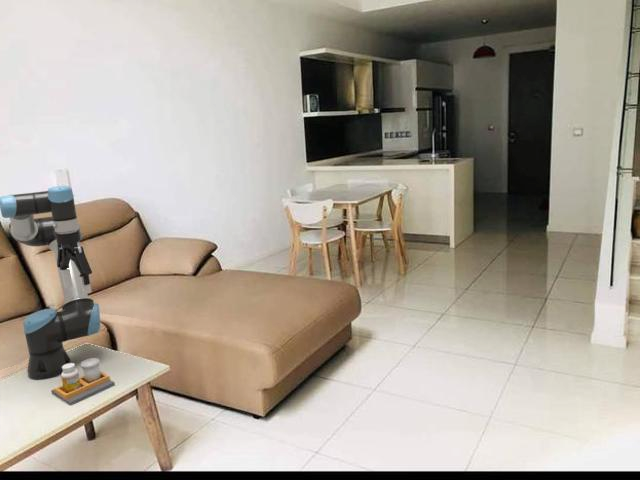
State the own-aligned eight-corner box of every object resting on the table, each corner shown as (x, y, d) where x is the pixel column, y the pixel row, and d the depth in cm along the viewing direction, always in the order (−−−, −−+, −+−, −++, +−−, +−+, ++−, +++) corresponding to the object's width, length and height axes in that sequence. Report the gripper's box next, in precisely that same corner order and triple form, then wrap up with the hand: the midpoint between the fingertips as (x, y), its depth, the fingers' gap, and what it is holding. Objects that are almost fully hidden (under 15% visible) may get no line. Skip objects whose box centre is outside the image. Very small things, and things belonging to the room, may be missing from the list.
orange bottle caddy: (51, 393, 184) (47, 370, 182) (94, 374, 196) (91, 352, 194) (70, 405, 175) (66, 381, 173) (114, 385, 187) (110, 362, 185)
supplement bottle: (64, 389, 184) (59, 364, 181) (80, 385, 186) (76, 360, 183) (64, 396, 179) (59, 370, 177) (81, 392, 181) (76, 366, 179)
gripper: (40, 230, 184) (51, 287, 189) (74, 237, 168) (85, 299, 174) (61, 225, 190) (71, 281, 195) (96, 232, 174) (106, 292, 179)
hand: (77, 290), depth 184 cm, fingers open, 13 cm apart
